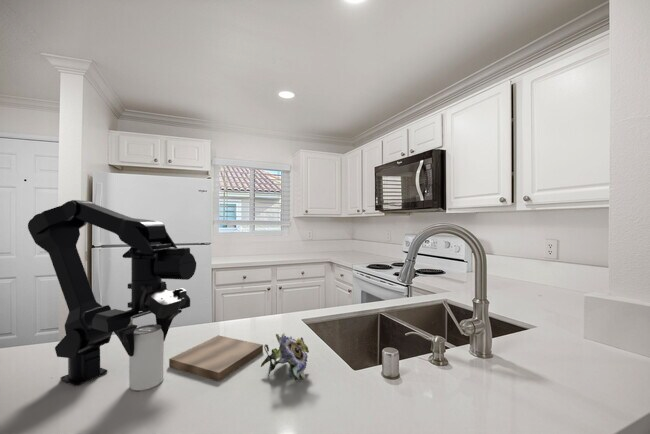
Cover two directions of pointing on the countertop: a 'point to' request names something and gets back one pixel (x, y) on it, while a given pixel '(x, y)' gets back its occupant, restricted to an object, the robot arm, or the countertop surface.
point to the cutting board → (216, 357)
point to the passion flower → (289, 356)
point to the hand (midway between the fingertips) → (146, 349)
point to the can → (147, 358)
